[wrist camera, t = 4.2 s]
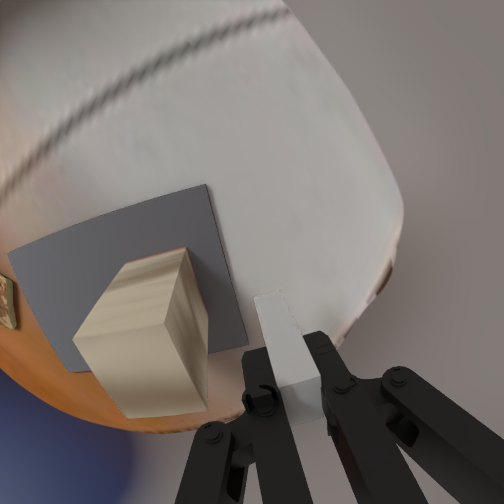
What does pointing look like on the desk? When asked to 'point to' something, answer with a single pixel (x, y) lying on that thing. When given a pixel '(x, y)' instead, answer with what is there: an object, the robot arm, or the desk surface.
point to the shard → (7, 303)
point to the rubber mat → (113, 259)
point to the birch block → (150, 338)
